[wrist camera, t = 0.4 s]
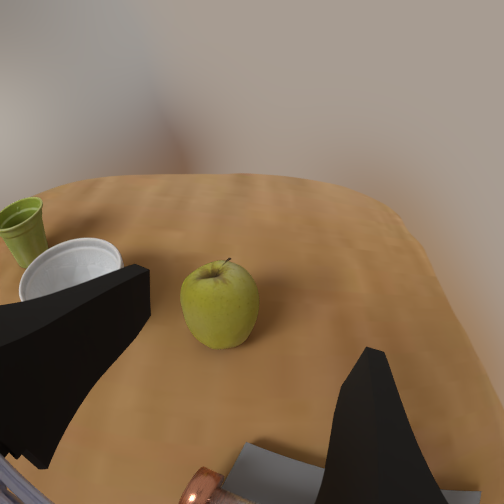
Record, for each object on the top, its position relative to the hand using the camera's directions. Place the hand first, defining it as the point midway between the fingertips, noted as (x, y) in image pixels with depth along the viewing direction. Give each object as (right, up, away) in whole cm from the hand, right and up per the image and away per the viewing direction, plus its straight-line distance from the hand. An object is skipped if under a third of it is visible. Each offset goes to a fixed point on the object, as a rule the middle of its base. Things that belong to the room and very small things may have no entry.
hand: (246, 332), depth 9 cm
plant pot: (-36, +1, +32) cm, 48 cm away
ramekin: (-20, -5, +25) cm, 32 cm away
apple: (-3, -6, +24) cm, 25 cm away
